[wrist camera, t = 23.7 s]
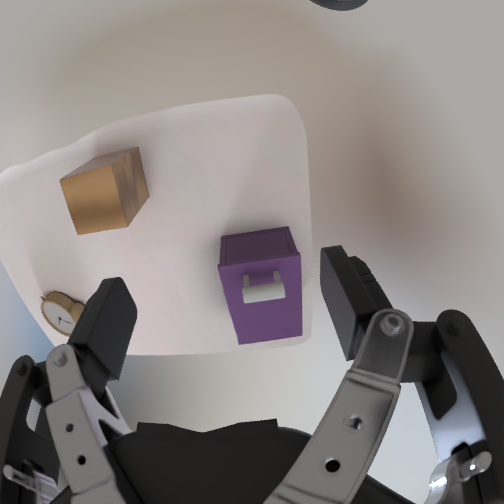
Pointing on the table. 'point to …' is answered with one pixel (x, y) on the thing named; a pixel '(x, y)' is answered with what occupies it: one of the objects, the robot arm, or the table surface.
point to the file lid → (264, 297)
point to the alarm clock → (61, 312)
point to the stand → (106, 192)
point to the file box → (256, 245)
